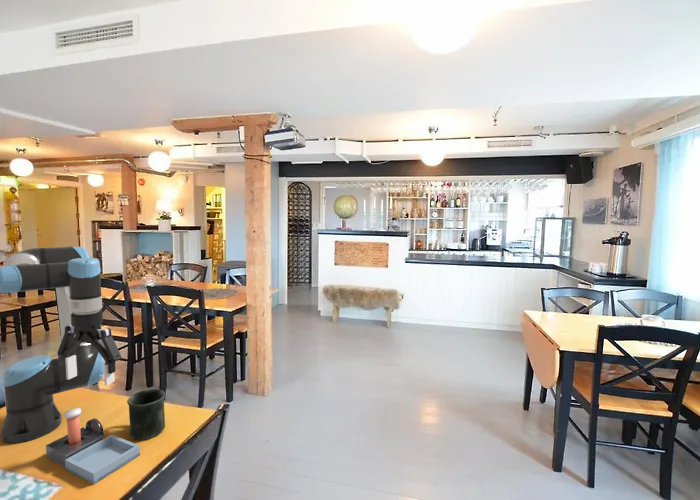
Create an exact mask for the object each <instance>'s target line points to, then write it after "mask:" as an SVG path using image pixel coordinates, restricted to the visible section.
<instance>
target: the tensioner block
mask: <svg viewBox="0 0 700 500" xmlns="http://www.w3.org/2000/svg"><path fill="white" fill-rule="evenodd" d="M80 430H81V441H80V442H78V443H76V444H74V445H72V446H70V445H69V443H68V434H66V435H64V436H62V437H60V438H57V439H56V440H53V441H52V442H50V443H47V444H46V445H45V451H46V452H45V453H46V459H48V460H49V461H51V462H54V463H55V464H57V465H59V466H62V467H64V468H65V460H66V459H67V458H69V457H71V456H73V455H75V454H77V453H79V452H80V451H82V450H84V449H86V448H88V447H90V446H92V445H93V444H95V443H97V442H99V441H101V440H103V439H104V433H105V432H104V427H103V425H102V423H101V421H99V419H97V418H95V417H94V418H92V419H90V420H88V421H87V422H86V424H85V427H80Z"/></svg>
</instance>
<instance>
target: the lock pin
mask: <svg viewBox="0 0 700 500" xmlns="http://www.w3.org/2000/svg"><path fill="white" fill-rule="evenodd" d="M81 414H82V409H81V408H80V407H77V408H72V409H69V410H67V411H65V412H64V419H66V424H67V425H66V426H67V435H68V443H69V445H70V446H72V445H74V444H76V443H78V442H80V441H81V430H80V428H81V419H80V417H81V416H80V415H81Z"/></svg>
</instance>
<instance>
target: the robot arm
mask: <svg viewBox="0 0 700 500" xmlns="http://www.w3.org/2000/svg"><path fill="white" fill-rule="evenodd" d="M101 272H102V268H101V265H100V260H99V258H94V257H90V256H89V253H88V250H87V249H86V248H85V247H83V246H72V245H71V246H62V247H61V246H59V247H57V246H56V247H34V248H29V249H24V250H20V251H17V252H15V253H13V254H11V255H9V256H8V257H6V258H5V260H4V262H3V265H2V266H0V294H1V293H2V294H9V293H13V294H14V293H15V294H16V293H19V292H29V291H38V290H47V289H48V290H50V289H55V291H56V293H55V294H56V301H57V310H58V317H59V318H58V320H59V327H60V328H59V329H60V336H61V338H60V339H61V342H60V345H59V348H58V351H57V357H56V358H51V356H49V355H44V354H43V355H36V356H33V357H29V358H26V359H22V360H20V361H18V362H16V363H13V364H12V365H10V366H8V367H7V368H6V369H5V371H4V373H3V383H2V385H3V387H4V398H5V399H4V400H5V410H6V414H5V417H4V419H3V423H2V427H1V429H0V440H1V441H2V442H3V443H5V444H16V443H17V444H19V443H23V442H24V443H25V442H28V441H32V440H35V439H38V438H40V437H43V436H45V435H47V434H48V435H49V434H50V433H51V432H53V431H54V430H56V429H57V428H59V427H60V425H61V424H62V414H61V412H60V410H59V409H58V407H57V405H56V403H55V401H54V395H56V394H60V393H64V392H67V391H72V390H76V389H80V388H83V387H88V386H91V385H93V384H97V383H100V382H101V380H102V379H103V377H104V386H109V385H111V384H112V383H114V382H115V377H116V376H115V373H116V362H118V361H120V360H122V355H121V352H120V350H119V349H118V346H117V344H116V342H115V340H114V337H113V335H112V330H111V328H110V327H107V328H102V327H101V324H102V323H103V322H104V316H103V312H104V311H103V310H102V308H103V298H102V284H101V283H102V281H101V280H102V279H101V277H102V275H101Z"/></svg>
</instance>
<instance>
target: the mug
mask: <svg viewBox="0 0 700 500" xmlns="http://www.w3.org/2000/svg"><path fill="white" fill-rule="evenodd" d="M165 396H166V393H165V391H164V390H162V389H159V388H153V389H151V388H150V389H144V390H142V391H138V392H136V393H134V394H131V396H129V397H128V398H127V401H126V404H127V405H128V415H129V419H128V420H129V435H130V437H131V438H132V439H134V440H136V441H137V440H138V441H143V440H148V439H153V438H155V437H156V436H159V435H160V434H161V433H163V431H164V429H165V427H166V418H165Z"/></svg>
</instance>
